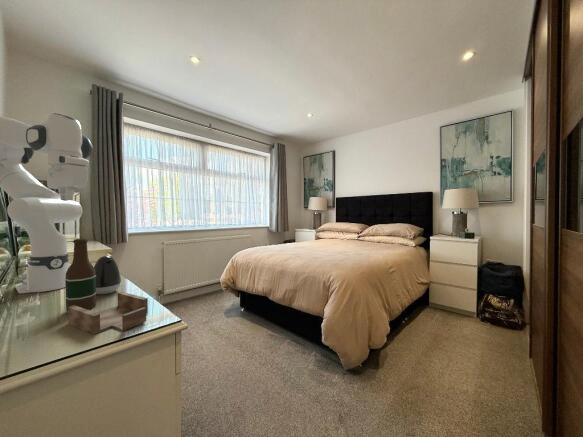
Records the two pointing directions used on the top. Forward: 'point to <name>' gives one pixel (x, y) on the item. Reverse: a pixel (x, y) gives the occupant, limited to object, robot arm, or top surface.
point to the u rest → (111, 315)
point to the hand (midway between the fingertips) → (66, 200)
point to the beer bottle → (80, 278)
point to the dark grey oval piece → (107, 275)
